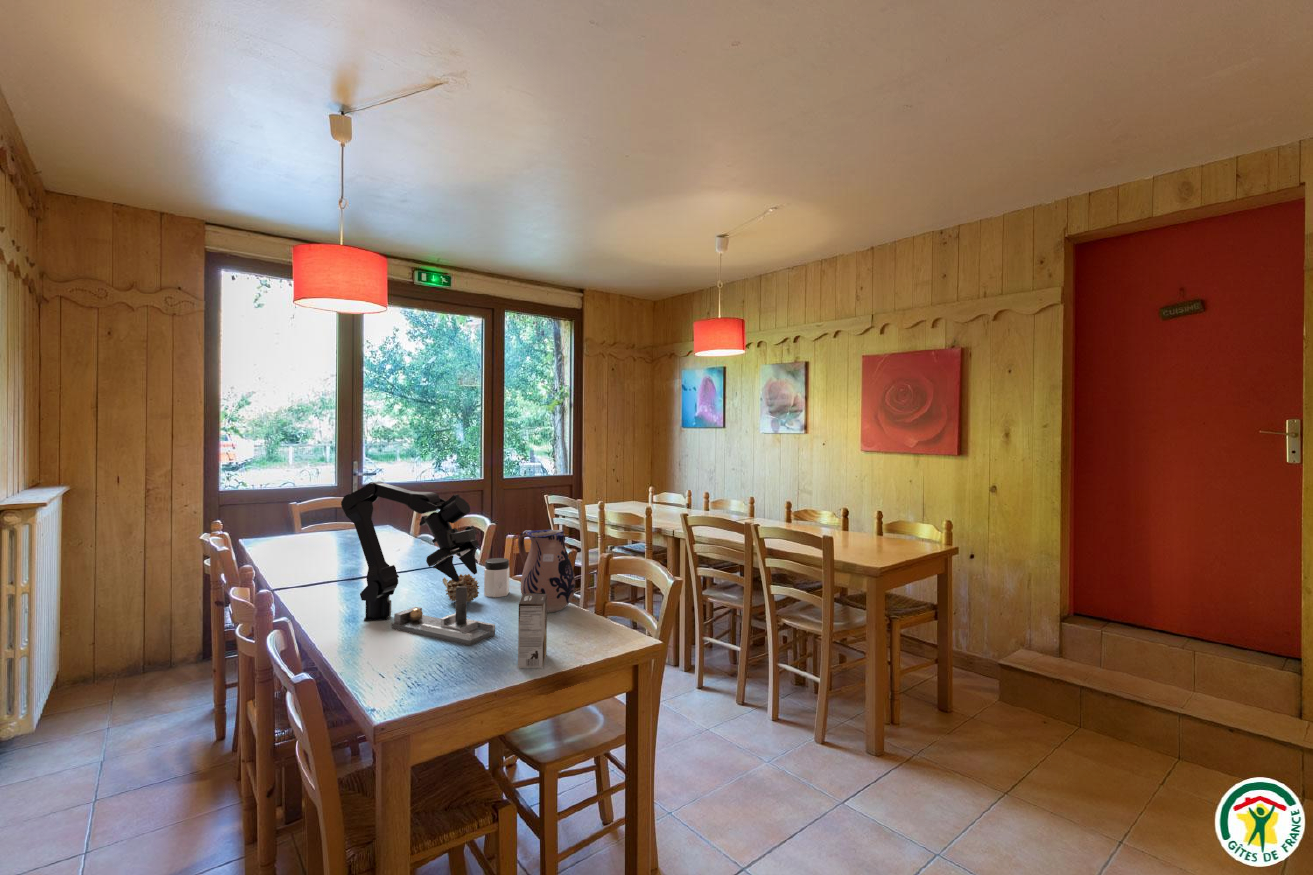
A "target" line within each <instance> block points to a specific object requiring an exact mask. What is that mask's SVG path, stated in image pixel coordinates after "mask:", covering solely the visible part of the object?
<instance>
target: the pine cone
mask: <svg viewBox="0 0 1313 875" xmlns="http://www.w3.org/2000/svg"><path fill="white" fill-rule="evenodd" d="M458 577H459V581H458V582H456V581H454V580H453V579H449V580H448V579H447V577H443V578H442V583H443V585H444V587H445V588H446V589H445V590H444V592H446V593H445V595H446V596H448V598H449V599H448V600H451V601H452V602H456V587H460V586H465V587H467V603H470V602H472V601H474V600H475V599H476V598H478V597H479V594H480V592H479V590H480V585H479V584H480V582H478V580H476V577H473V575H471V574H470V573H468V574H466V573H465V574H463V573H460V574H459V575H458Z"/></svg>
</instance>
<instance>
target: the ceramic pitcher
mask: <svg viewBox="0 0 1313 875" xmlns="http://www.w3.org/2000/svg"><path fill="white" fill-rule="evenodd" d="M564 532H565V531H564V530H562V529H540V530H539V529H538V530H527V529H526V530H524V531H522V532H521V533H520V535H519V536H518V538H517V546H518V547H517V548H518V554H519V555H520V559H521V562H522V564H523V570H522V573H521V578H520V592H521V596H522V595H523V594H527V593H535V594H547V613H554V612H558V611H562V610H563V609H565V607H567V606H569V604H570V602H571V601H572V600H573V597H574V594H575V590H576V576H575V572H574V569H573V566H572V562H571V559H570V556H569V553H568V550H567V547H566V544H565V541H566V538H567V535H566V534H565V533H564ZM526 537H528V538H529V539H530V547H529V550H528V553H527V552H526V551H527V550H526V546H525V538H526Z"/></svg>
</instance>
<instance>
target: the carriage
mask: <svg viewBox="0 0 1313 875" xmlns="http://www.w3.org/2000/svg"><path fill="white" fill-rule="evenodd" d="M467 603H468V602H467V587H465V586H460V587H456V601H455V613H453V614H448V615H449V616H447V615H445V616H446V617H445V616H444V617H441V618H440V619H441V627H442V628H447V629H452V630H456V631H461V632H466V633H467V632H470V631H472V630H475V629H477V628H478V621H479V620H474V619H470V618H468V616H467V615H468V614H467V611H468V609H467V608H468V606H467V605H468V604H467Z"/></svg>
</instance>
